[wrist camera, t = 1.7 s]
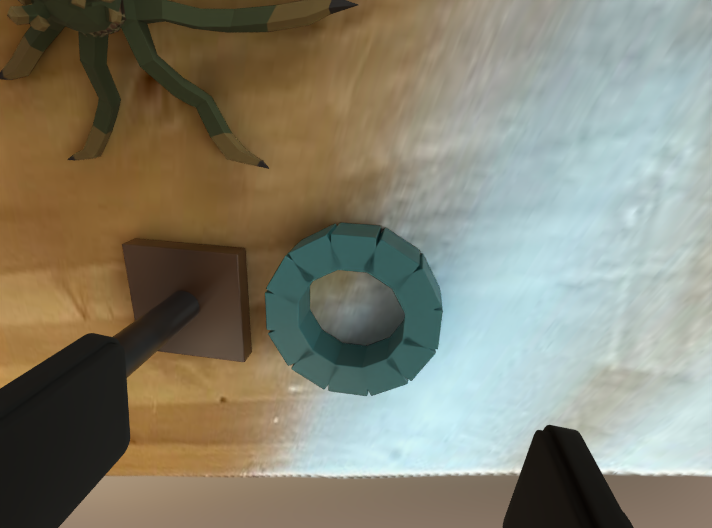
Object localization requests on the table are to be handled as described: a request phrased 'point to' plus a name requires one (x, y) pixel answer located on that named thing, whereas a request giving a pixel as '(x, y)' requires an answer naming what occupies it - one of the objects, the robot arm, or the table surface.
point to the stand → (186, 301)
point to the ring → (349, 361)
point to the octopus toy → (147, 51)
